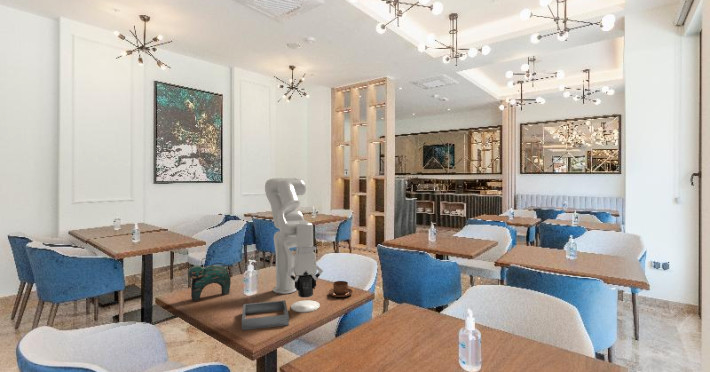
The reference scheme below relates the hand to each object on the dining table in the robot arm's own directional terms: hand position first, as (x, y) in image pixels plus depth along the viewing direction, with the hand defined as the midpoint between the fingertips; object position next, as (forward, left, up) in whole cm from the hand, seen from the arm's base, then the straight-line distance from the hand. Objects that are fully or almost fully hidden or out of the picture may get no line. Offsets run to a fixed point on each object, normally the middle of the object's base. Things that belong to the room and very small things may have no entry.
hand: (305, 288), depth 164 cm
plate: (0, 0, -9) cm, 9 cm away
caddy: (+9, -18, -9) cm, 22 cm away
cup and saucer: (-12, +19, -9) cm, 25 cm away
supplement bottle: (0, 0, -3) cm, 3 cm away
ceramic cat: (-27, -44, -9) cm, 53 cm away
